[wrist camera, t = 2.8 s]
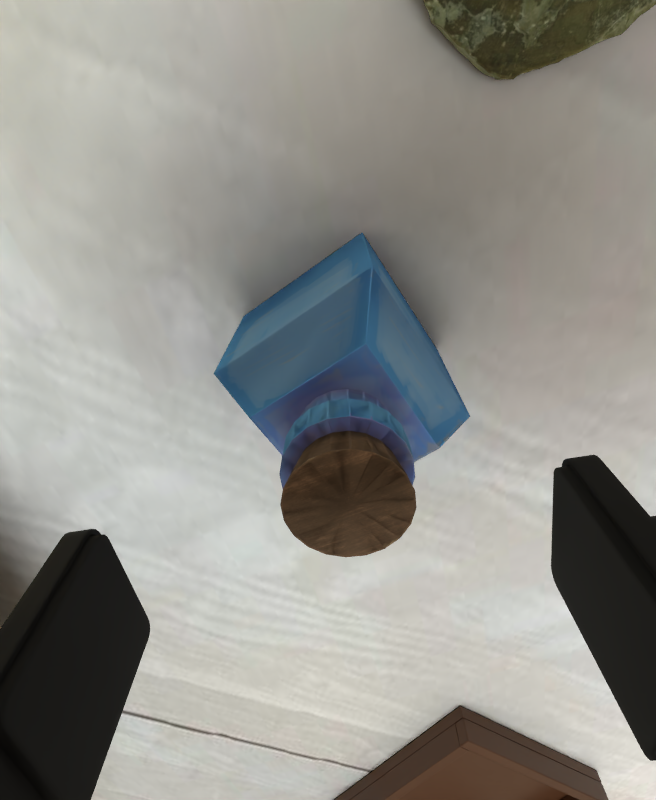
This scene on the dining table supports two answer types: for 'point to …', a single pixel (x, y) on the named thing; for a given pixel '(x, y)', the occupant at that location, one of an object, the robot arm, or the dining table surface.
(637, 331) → the dining table surface
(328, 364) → the perfume bottle
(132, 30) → the dining table surface
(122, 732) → the dining table surface
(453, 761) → the tray
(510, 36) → the olive green rounded lump
